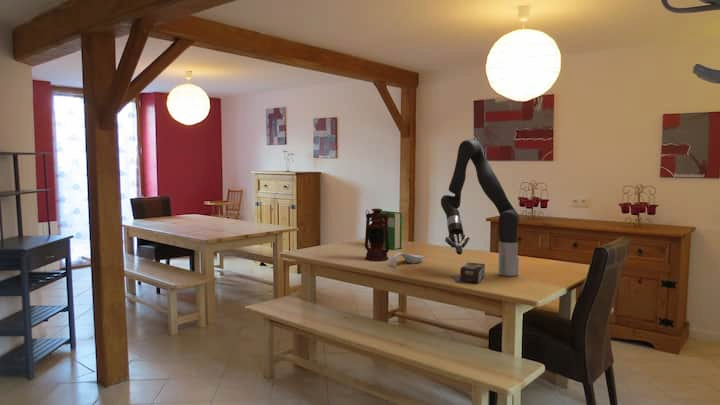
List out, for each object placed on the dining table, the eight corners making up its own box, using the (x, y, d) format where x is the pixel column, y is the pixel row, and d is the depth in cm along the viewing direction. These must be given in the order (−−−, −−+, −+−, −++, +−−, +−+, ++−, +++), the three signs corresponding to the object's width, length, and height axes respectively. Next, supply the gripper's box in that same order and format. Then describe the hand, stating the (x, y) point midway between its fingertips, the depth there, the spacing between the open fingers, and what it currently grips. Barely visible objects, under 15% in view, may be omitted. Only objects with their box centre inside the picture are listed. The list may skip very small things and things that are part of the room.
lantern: (358, 259, 296) (358, 209, 293) (371, 255, 307) (371, 207, 304) (382, 262, 286) (382, 210, 283) (395, 258, 297) (395, 208, 294)
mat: (474, 276, 254) (474, 275, 254) (480, 281, 242) (480, 281, 242) (451, 276, 254) (451, 275, 254) (456, 282, 242) (456, 281, 242)
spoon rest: (412, 259, 297) (412, 247, 296) (427, 262, 288) (428, 250, 287) (385, 265, 280) (385, 252, 280) (400, 268, 272) (400, 255, 271)
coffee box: (485, 263, 253) (479, 269, 238) (484, 275, 253) (478, 283, 238) (467, 261, 256) (460, 267, 241) (466, 273, 257) (459, 280, 242)
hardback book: (401, 248, 330) (401, 212, 327) (394, 250, 325) (394, 213, 322) (382, 245, 342) (382, 210, 340) (374, 246, 337) (374, 211, 335)
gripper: (443, 221, 260) (448, 249, 248) (468, 221, 260) (474, 249, 249) (441, 230, 265) (445, 257, 254) (465, 230, 266) (471, 257, 255)
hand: (459, 253), depth 252 cm, fingers closed
